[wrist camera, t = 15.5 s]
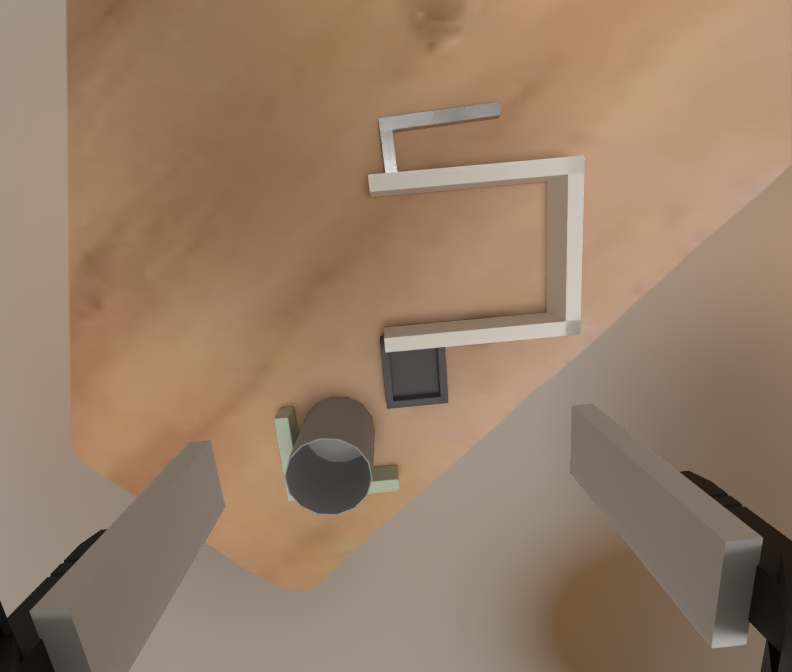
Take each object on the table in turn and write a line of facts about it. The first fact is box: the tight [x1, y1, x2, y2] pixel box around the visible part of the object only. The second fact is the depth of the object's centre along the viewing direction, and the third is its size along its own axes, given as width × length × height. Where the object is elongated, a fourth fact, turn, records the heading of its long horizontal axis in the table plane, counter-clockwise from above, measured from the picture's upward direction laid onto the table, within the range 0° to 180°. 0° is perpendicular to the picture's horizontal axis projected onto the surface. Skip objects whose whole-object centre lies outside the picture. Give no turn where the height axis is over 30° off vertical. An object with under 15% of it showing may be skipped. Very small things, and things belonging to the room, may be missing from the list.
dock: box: [274, 407, 399, 501], centre depth 46 cm, size 13×10×3 cm
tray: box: [380, 336, 448, 409], centre depth 45 cm, size 7×8×2 cm
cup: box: [284, 397, 375, 515], centre depth 43 cm, size 8×8×10 cm
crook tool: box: [378, 102, 501, 173], centre depth 40 cm, size 12×5×1 cm, turn 98°
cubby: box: [368, 155, 585, 353], centre depth 41 cm, size 20×17×5 cm
